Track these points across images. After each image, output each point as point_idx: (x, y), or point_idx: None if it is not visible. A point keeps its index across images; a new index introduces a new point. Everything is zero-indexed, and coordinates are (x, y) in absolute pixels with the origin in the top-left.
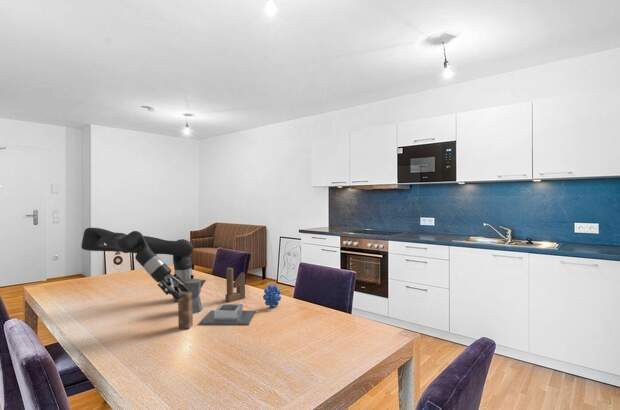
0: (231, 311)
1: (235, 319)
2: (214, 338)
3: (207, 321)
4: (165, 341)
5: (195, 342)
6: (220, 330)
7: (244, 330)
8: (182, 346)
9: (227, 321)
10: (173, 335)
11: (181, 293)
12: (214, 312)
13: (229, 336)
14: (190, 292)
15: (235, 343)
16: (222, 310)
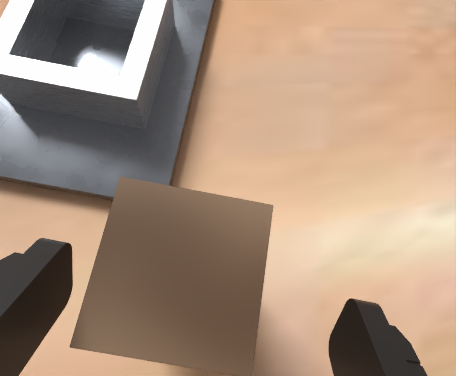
0: (164, 9)
1: (172, 29)
2: (358, 118)
3: (159, 162)
4: None
5: (401, 193)
6: (267, 99)
7: (279, 10)
8: (446, 246)
9: (182, 65)
10: (311, 331)
11: (198, 329)
12: (138, 101)
13: (339, 63)
14: (166, 194)
15: (407, 42)
16: (130, 54)
